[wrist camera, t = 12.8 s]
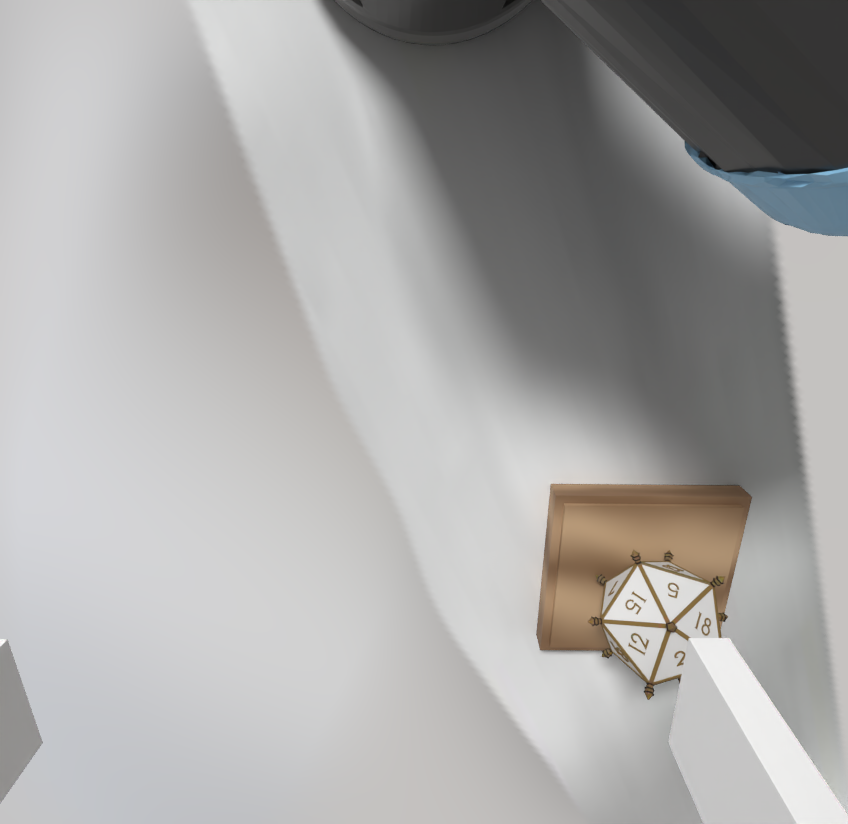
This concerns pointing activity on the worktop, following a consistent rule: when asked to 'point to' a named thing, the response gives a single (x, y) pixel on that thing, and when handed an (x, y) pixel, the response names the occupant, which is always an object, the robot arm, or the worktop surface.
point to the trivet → (630, 547)
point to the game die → (657, 616)
